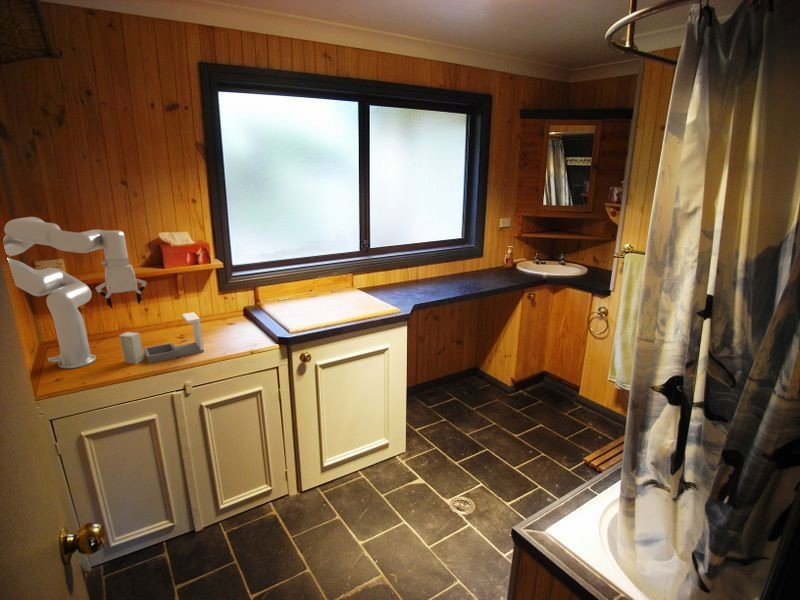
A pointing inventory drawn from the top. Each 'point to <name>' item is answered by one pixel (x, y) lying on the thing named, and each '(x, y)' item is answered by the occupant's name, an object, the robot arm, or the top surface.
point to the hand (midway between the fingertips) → (125, 304)
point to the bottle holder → (178, 350)
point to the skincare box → (131, 347)
